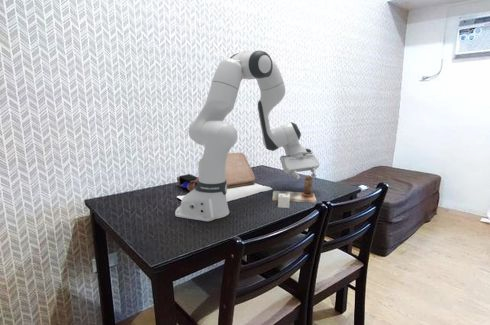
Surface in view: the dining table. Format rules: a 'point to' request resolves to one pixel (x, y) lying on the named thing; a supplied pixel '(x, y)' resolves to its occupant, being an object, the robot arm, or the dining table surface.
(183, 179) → the figurine character
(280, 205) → the die
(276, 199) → the board
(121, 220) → the dining table surface
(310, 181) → the pawn
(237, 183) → the case
